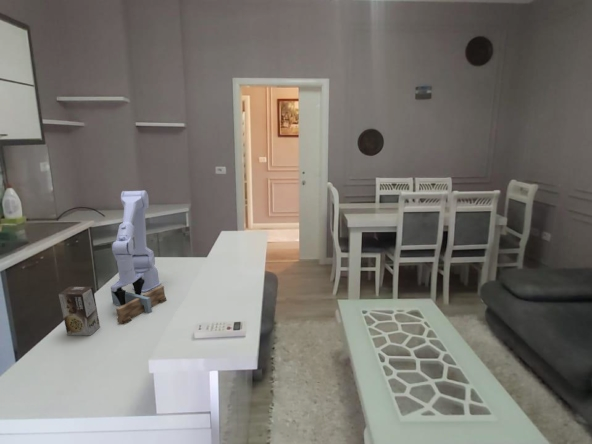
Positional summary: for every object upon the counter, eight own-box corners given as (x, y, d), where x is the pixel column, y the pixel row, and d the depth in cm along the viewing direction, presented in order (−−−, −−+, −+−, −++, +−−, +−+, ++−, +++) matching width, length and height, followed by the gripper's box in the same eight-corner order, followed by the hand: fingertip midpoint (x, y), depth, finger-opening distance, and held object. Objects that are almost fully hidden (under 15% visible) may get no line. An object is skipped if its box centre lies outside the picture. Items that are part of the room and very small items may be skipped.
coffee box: (100, 326, 142) (94, 286, 138) (90, 336, 136) (82, 294, 132) (77, 325, 143) (70, 285, 139) (66, 335, 137) (57, 293, 132)
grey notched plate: (113, 303, 159) (110, 290, 158) (116, 301, 161) (114, 288, 159) (148, 313, 151) (146, 299, 149) (151, 311, 152) (150, 297, 151)
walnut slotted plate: (160, 298, 163) (158, 285, 162) (167, 299, 162) (165, 286, 160) (116, 322, 144) (114, 308, 143) (123, 324, 143) (121, 310, 141)
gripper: (133, 261, 159) (137, 291, 163) (103, 274, 147) (108, 306, 151) (146, 264, 157) (150, 294, 160) (116, 277, 144) (121, 310, 148)
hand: (130, 300), depth 155 cm, fingers open, 7 cm apart
